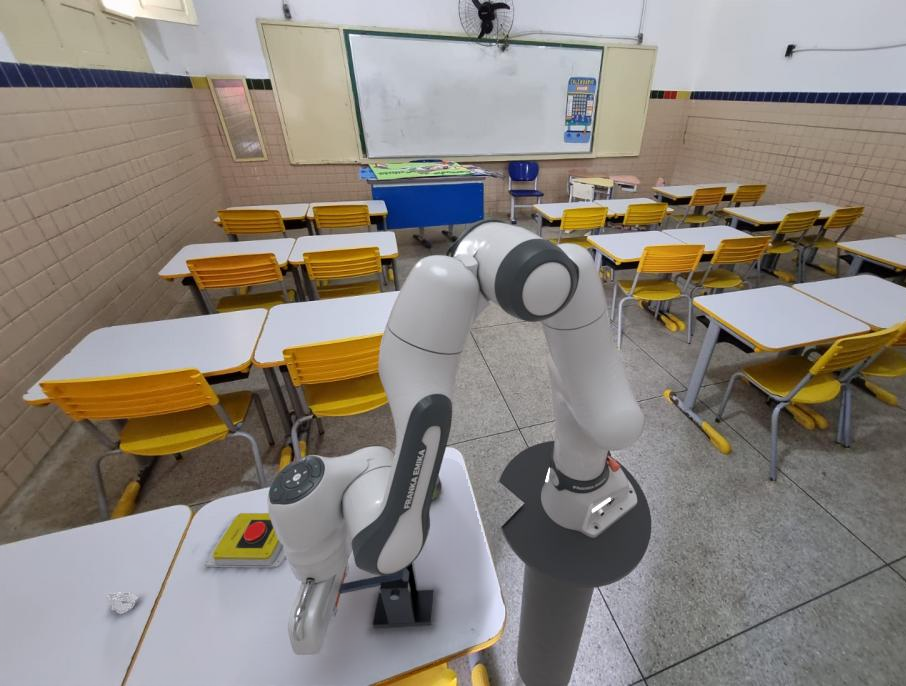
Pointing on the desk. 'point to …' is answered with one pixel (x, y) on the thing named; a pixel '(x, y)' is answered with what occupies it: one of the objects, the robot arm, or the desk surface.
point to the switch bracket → (403, 603)
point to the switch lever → (370, 582)
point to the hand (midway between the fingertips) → (337, 593)
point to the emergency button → (248, 544)
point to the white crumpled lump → (118, 600)
